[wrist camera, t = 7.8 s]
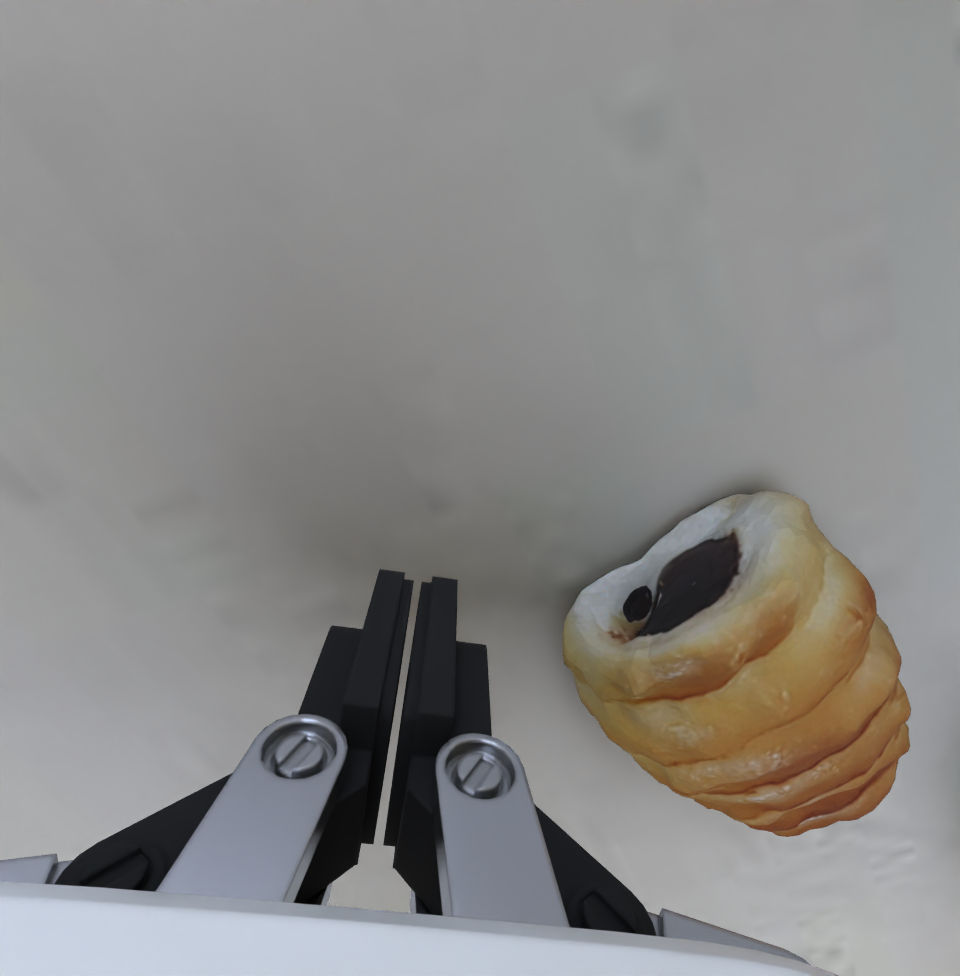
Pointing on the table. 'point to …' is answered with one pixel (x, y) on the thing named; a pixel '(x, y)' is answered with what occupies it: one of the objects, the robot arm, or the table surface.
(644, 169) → the table surface
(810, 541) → the pastry
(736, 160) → the table surface
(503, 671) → the table surface
